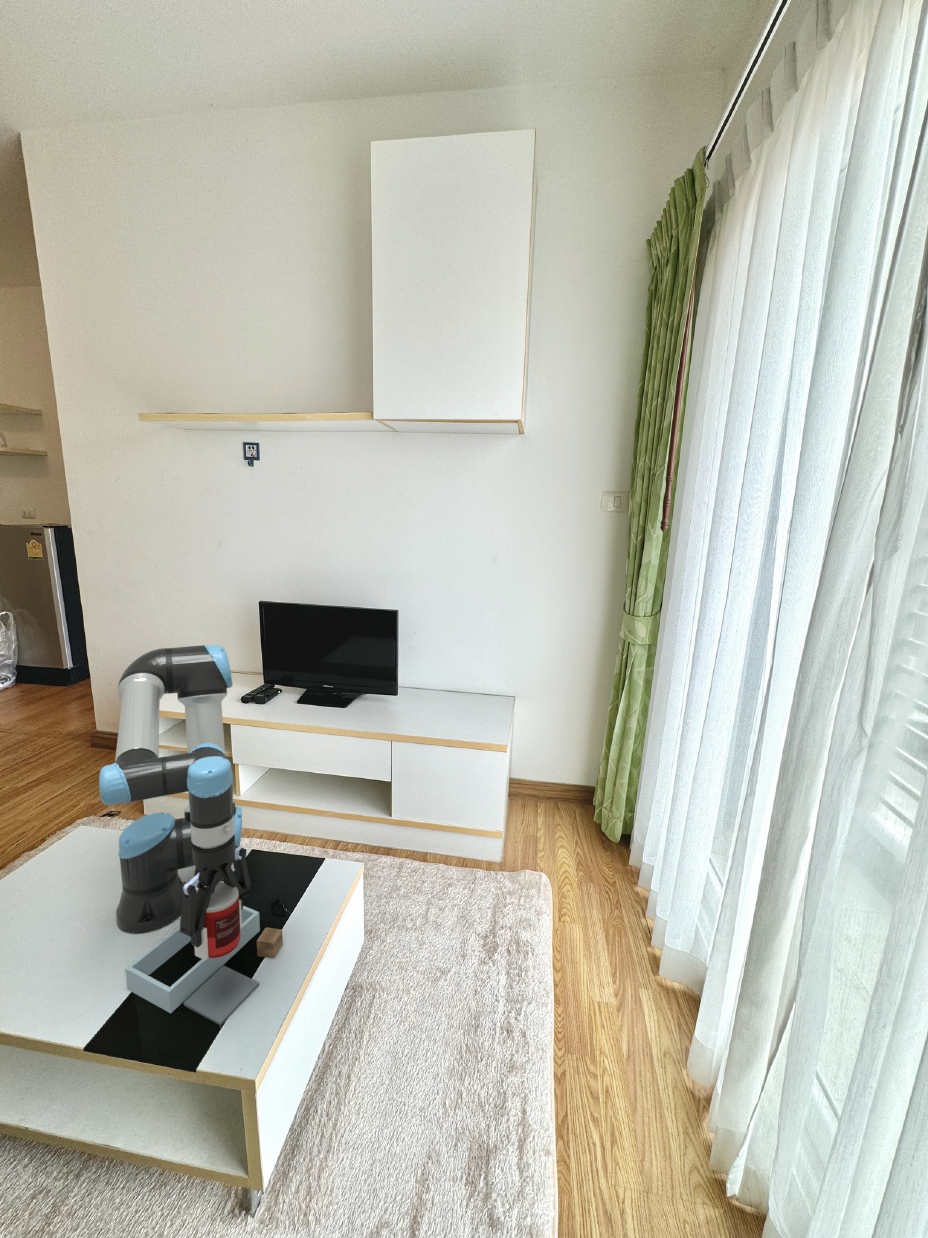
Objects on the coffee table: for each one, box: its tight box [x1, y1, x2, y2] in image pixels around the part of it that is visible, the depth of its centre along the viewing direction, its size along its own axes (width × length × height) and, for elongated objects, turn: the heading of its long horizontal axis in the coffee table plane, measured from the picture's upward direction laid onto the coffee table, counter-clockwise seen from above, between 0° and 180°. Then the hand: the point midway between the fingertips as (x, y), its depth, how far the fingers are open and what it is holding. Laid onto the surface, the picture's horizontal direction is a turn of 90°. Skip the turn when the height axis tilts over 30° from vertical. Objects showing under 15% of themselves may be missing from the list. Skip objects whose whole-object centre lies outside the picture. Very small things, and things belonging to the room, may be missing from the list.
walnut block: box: [256, 927, 284, 960], centre depth 121 cm, size 4×4×4 cm
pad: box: [183, 964, 260, 1026], centre depth 110 cm, size 10×10×1 cm
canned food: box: [203, 882, 241, 958], centre depth 106 cm, size 8×8×11 cm
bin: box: [124, 905, 261, 1014], centre depth 118 cm, size 13×24×5 cm, turn 157°
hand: (219, 941), depth 107 cm, fingers closed on canned food, 8 cm apart
